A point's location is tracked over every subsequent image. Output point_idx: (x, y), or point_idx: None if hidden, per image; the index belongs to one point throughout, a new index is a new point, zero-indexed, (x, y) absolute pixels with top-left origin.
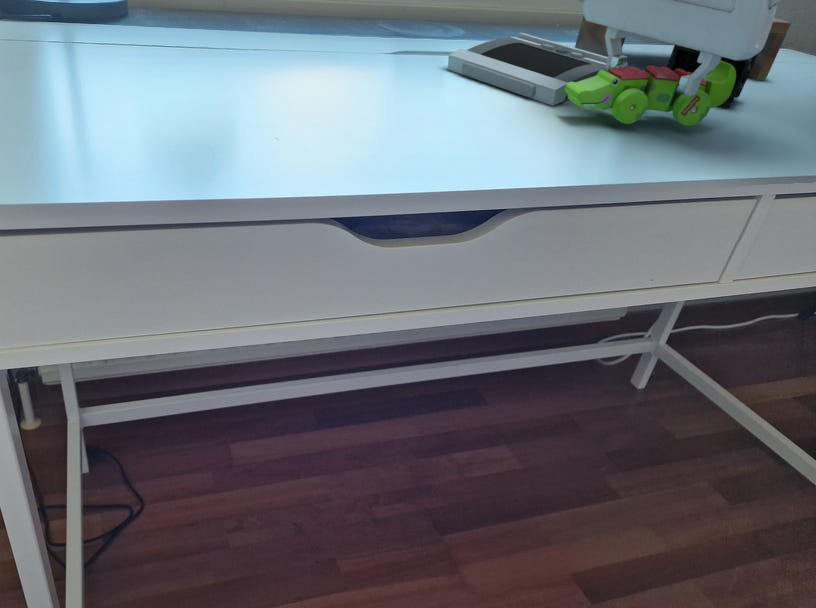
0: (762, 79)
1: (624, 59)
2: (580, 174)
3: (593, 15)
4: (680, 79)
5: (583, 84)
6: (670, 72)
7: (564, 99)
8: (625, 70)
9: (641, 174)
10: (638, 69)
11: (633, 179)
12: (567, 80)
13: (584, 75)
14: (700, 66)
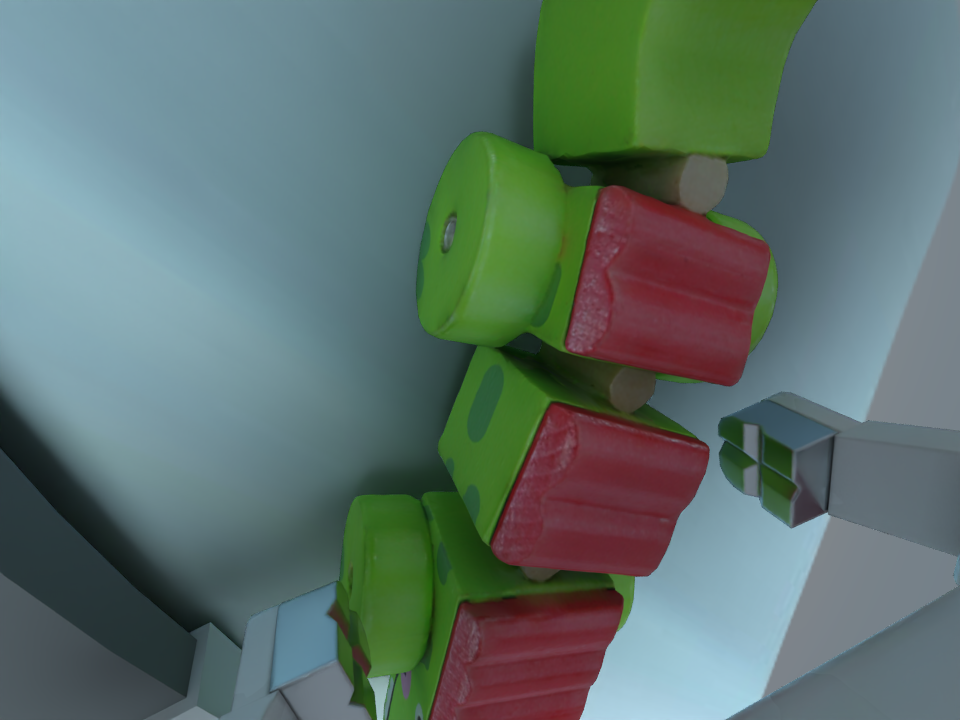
0: None
1: (349, 667)
2: (722, 715)
3: None
4: (780, 519)
5: None
6: (680, 501)
7: (211, 627)
8: (526, 696)
9: (769, 605)
10: (554, 642)
11: (776, 630)
12: (124, 692)
13: (56, 614)
14: (950, 550)
